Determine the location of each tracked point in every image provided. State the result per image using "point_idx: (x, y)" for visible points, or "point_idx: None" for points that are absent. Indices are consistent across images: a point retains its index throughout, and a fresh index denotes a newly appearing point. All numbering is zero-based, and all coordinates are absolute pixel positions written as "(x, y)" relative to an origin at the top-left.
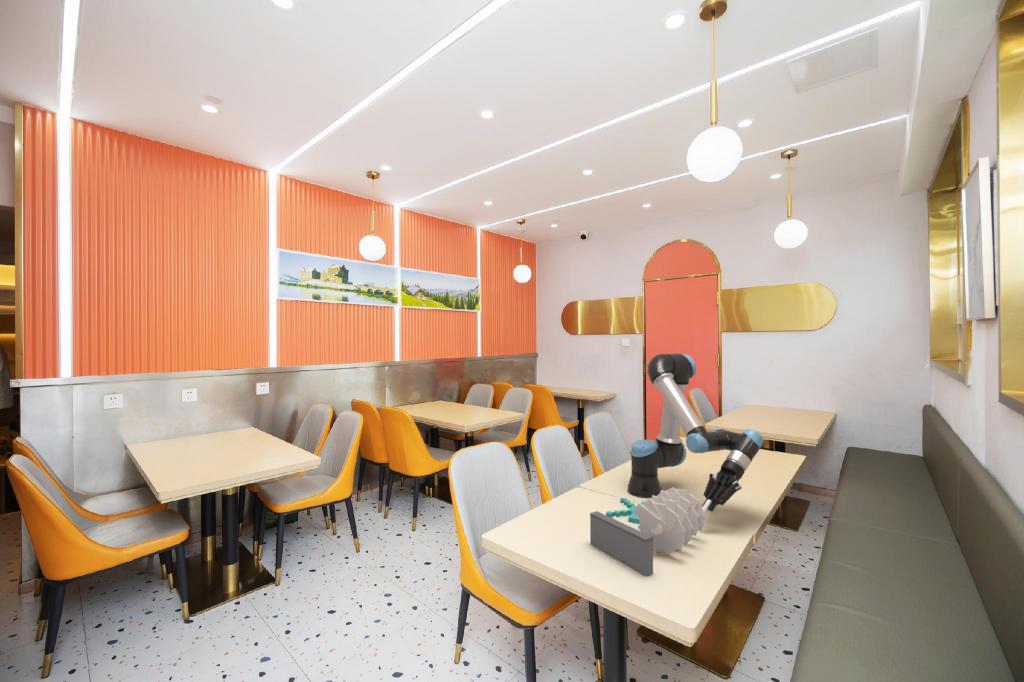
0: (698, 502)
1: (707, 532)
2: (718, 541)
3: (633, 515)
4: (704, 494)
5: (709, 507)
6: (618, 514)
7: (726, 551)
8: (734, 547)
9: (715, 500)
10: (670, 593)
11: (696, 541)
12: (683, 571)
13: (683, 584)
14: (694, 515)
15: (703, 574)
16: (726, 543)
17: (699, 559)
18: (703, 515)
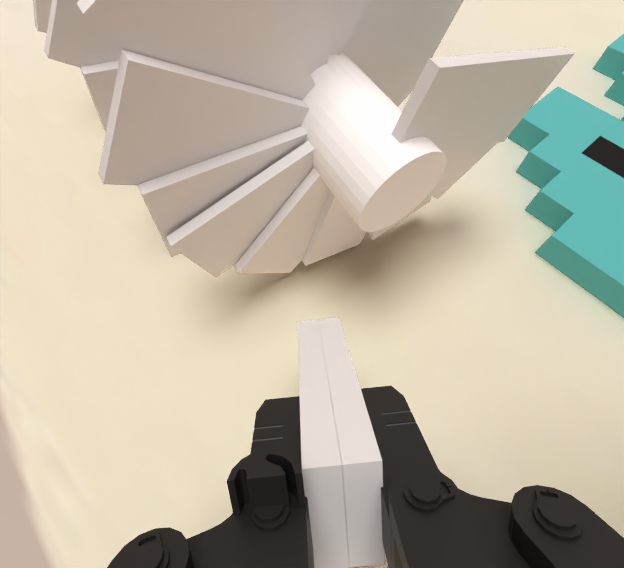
0: (126, 59)
1: None
2: (181, 401)
3: (585, 114)
4: (552, 502)
5: (285, 413)
6: (616, 80)
7: (66, 346)
8: (68, 441)
9: (233, 531)
10: (11, 7)
11: (237, 273)
12: (67, 83)
13: (15, 48)
14: (76, 37)
15: (8, 123)
16: (134, 433)
17: (92, 174)
18: (145, 201)
